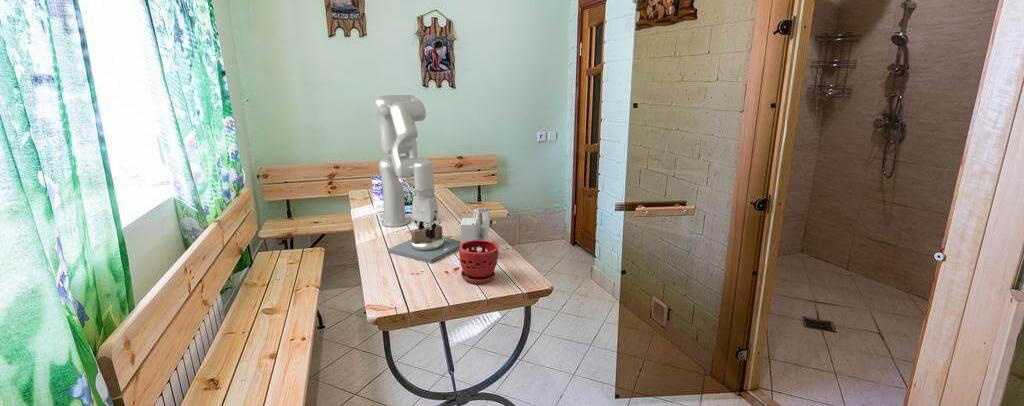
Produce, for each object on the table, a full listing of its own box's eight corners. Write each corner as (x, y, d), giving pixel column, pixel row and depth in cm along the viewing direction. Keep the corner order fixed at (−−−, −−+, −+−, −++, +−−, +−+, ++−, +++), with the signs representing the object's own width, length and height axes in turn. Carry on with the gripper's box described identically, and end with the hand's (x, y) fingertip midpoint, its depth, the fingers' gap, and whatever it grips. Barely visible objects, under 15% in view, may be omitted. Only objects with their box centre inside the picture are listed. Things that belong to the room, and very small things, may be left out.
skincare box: (463, 253, 184) (462, 217, 180) (478, 253, 184) (477, 217, 180) (460, 261, 176) (459, 223, 172) (476, 261, 176) (476, 224, 172)
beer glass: (487, 248, 190) (487, 212, 186) (471, 247, 191) (470, 211, 187) (491, 242, 196) (491, 208, 192) (475, 241, 198) (475, 207, 194)
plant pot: (467, 289, 153) (466, 254, 150) (455, 274, 165) (454, 242, 162) (504, 282, 158) (504, 249, 155) (490, 268, 170) (489, 237, 167)
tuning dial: (419, 253, 180) (419, 235, 178) (405, 243, 190) (404, 227, 188) (459, 243, 190) (459, 227, 188) (444, 235, 200) (443, 219, 198)
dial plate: (387, 252, 185) (387, 248, 185) (424, 236, 204) (424, 233, 203) (431, 263, 175) (431, 259, 174) (466, 245, 193) (466, 241, 192)
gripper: (401, 192, 184) (404, 236, 189) (435, 197, 176) (437, 243, 180) (414, 188, 190) (417, 231, 195) (447, 193, 182) (449, 238, 187)
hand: (426, 236), depth 188 cm, fingers closed on tuning dial, 4 cm apart
